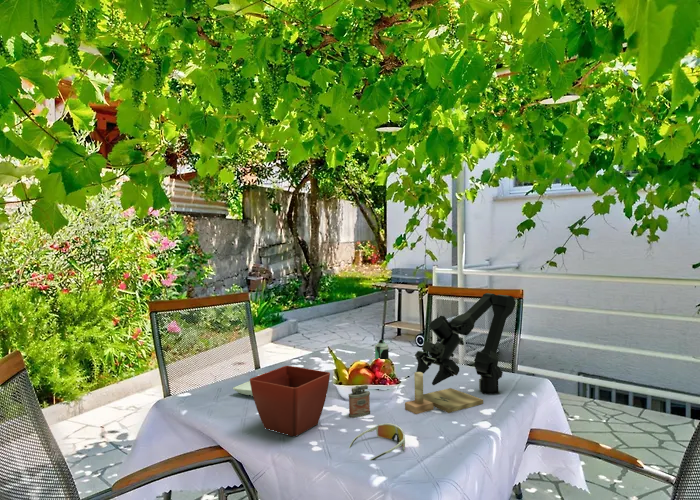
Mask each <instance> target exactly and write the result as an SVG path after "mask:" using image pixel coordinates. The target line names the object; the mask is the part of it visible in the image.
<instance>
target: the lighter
mask: <svg viewBox="0 0 700 500" xmlns="http://www.w3.org/2000/svg"><path fill="white" fill-rule="evenodd" d="M368 389H369V386H368V384H363V385H360V386H359V385H356V386H355V387H351V393H348V395H347V396H348V417H349V418H361V417H366V416H369V415H370V414H371V410H370V409H371V408H370V406H371V405H370V403H371V401H370V398H371V397H370V395H371V392H370V391H369V390H368Z"/></svg>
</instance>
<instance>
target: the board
mask: <svg viewBox="0 0 700 500" xmlns="http://www.w3.org/2000/svg"><path fill="white" fill-rule="evenodd" d="M423 399H425V400H428V401H430V402H433V408H436V409H439V410H440V411H443V412H445V413H448V414H450V413H453V412H457V411H458V412H459V411H461V410H466V409H469V408H472V407H476V406H480V405H483V404H484V399H482V398H480V397H476V396H474V395H471V394H469V393H466V392H462V391H460V390H457V389H455V388H451V387H449V388H445V389H441V390H440V389H439V390H436V391H432V392H428V393H427V392H426V393H423Z"/></svg>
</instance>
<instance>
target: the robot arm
mask: <svg viewBox="0 0 700 500" xmlns="http://www.w3.org/2000/svg"><path fill="white" fill-rule="evenodd" d="M516 304H517V302H516V300H515V297H514V296H512V295H507V294H495V293H491V292H490V293H489V292H486V293H483V295H482V296H481V298H479V299H478V301H476V302H475V303H474V304H473V305H472V306H471V307H470V308H469V309H468V310H466V312H464V313H462V314H459V315H457V316H456V317H453V318H452V319H451V320H450V321H448V320H447V318H446V316H445V315H439V317H436V318H435V319H433V320H432V321H431V322H430V323H429V329H430V330H431V331H432V332H433V333H434V335H435V336H436V337H437V338H438V339H439V340H441V341H440V342H439V341H438V342H436V343H433V342H429V341H424V343H423V345H422V348H421V350H417V352H416V353H415V355H414V356H415V359H416V360H417V367H416V370H415V372H422V373H423V375H424V374H425V373H426V372H427V371H428V370H429V369H430V366H432V364H433V365H436V366H438V367H439V368H438V372H437V373H436V375H435V376H434V378H433V380H432V382H431V384H432V386H436V385H437V384H439V383H441V382H442V381H444V380H446V379H449V378H451V377H454V376H458V374H459V373H460V366H458V364H457V363H456V362H455V361H454V360H453V359H450V358H454V357H455V354H454V351H455V350H456V349H457V348H458V346H459V345H461V346H465V345H464V344H465V342H464V338H463V337H461V336H459V335H462V336H468V335H469V334H471V332H472V330H473V329H474V328H475V323H476V322H477V321H478V320H479V319H480V318H481V317H482V316H483V315H484V314H486V312H487V311H488V310H489V309H490V308H492V313H493V316H492V319H491V323H490V326H489V329H488V333H487V337H486V340H485V343H484V346H483V349H482V350H481V351H480V350H479V351H476V355H475V357H474V360H473V361H474V369H475V371H476V374H477V376H480V378H479V379H478V389H479V391H480V392H481V393H482V394H483V395H499V394H501V393H500V391H499V380H500V379H501V378H502V377H503V371H502V369H501V368H500V367H499V366H498V365H499V359H498V355H497V354H498V353H497V352H498V348H499V345H500V342H501V338H502V335H503V333H504V328H505V324H506V321H507V318H508V317H510V316H511V315H512V313H514V309H515V307H516V306H517V305H516Z"/></svg>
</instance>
